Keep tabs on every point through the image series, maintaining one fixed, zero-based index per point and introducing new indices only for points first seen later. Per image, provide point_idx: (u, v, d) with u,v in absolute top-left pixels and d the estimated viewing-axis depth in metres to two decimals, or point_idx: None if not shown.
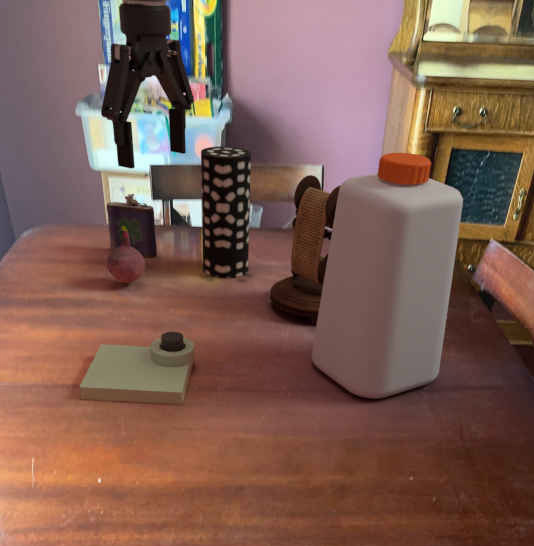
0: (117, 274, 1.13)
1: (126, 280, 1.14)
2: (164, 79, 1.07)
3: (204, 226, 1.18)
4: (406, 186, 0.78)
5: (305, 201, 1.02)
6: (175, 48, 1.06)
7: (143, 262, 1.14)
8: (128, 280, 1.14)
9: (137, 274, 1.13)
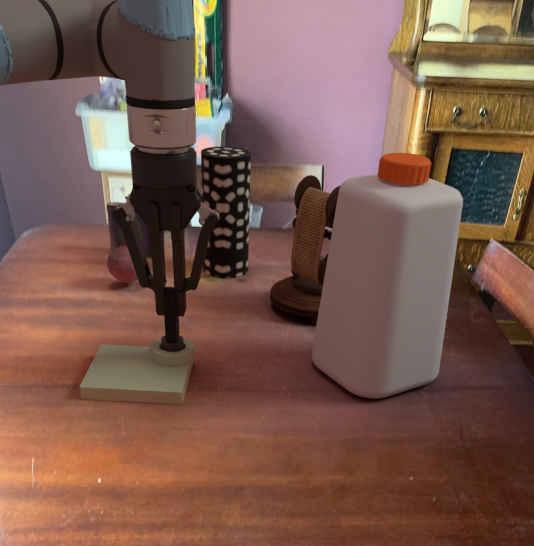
0: (117, 274, 1.13)
1: (126, 280, 1.14)
2: None
3: None
4: (406, 186, 0.78)
5: (305, 201, 1.02)
6: (206, 219, 0.80)
7: None
8: (128, 280, 1.14)
9: None
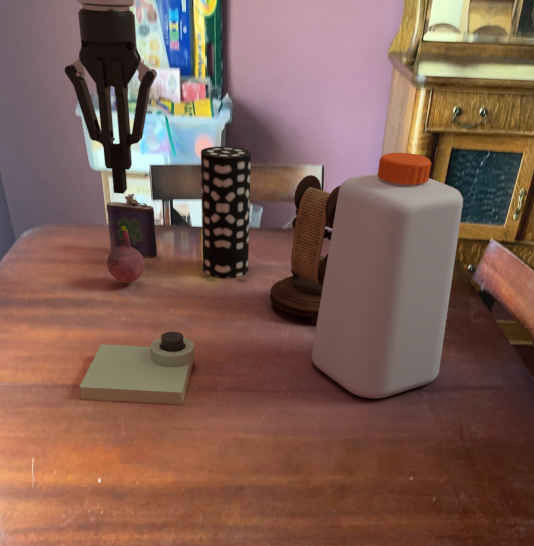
0: (117, 274, 1.13)
1: (126, 280, 1.14)
2: None
3: (204, 226, 1.18)
4: (406, 186, 0.78)
5: (305, 201, 1.02)
6: (144, 75, 0.95)
7: (143, 262, 1.14)
8: (128, 280, 1.14)
9: (137, 274, 1.13)
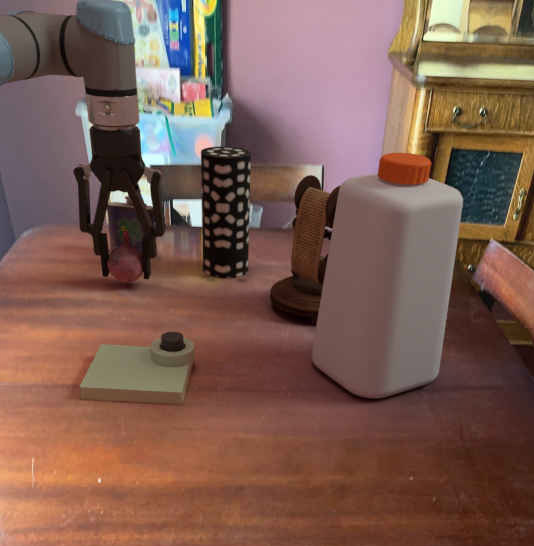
0: (118, 274, 1.13)
1: (126, 280, 1.14)
2: None
3: (204, 226, 1.18)
4: (406, 186, 0.78)
5: (305, 201, 1.02)
6: (151, 177, 1.05)
7: None
8: (128, 280, 1.14)
9: (137, 274, 1.13)
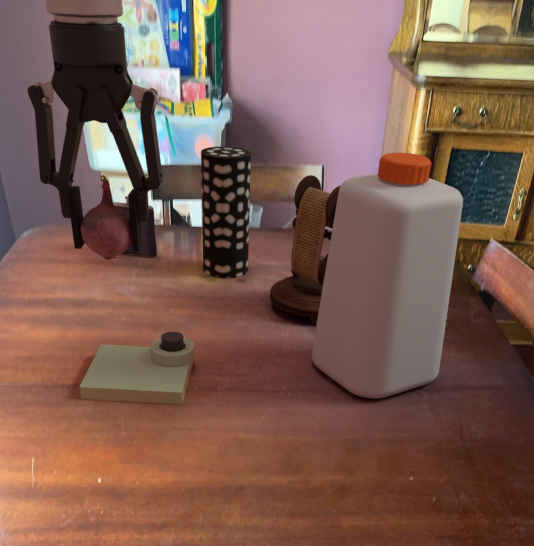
0: (95, 244, 0.80)
1: (108, 253, 0.81)
2: None
3: (204, 226, 1.18)
4: (406, 186, 0.78)
5: (305, 201, 1.02)
6: (142, 99, 0.72)
7: None
8: (110, 253, 0.81)
9: (122, 244, 0.80)
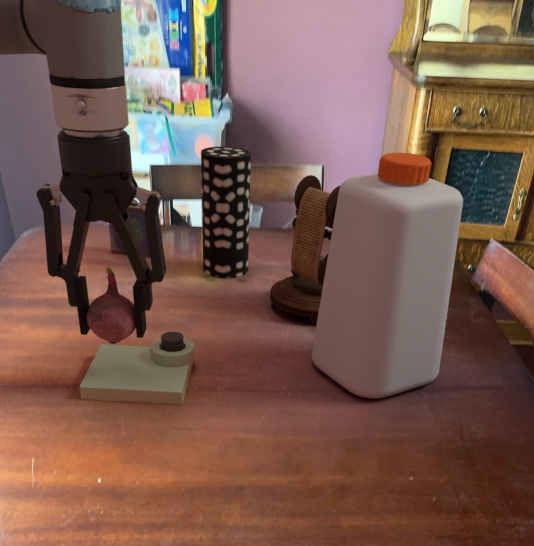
0: (101, 332, 0.82)
1: (112, 339, 0.84)
2: None
3: (204, 226, 1.18)
4: (406, 186, 0.78)
5: (305, 201, 1.02)
6: (146, 202, 0.75)
7: None
8: (115, 339, 0.84)
9: (127, 331, 0.83)
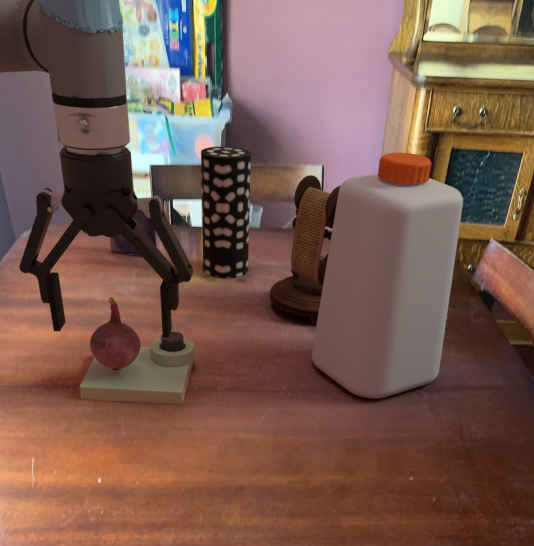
0: (104, 360, 0.85)
1: (115, 367, 0.86)
2: None
3: (204, 226, 1.18)
4: (406, 186, 0.78)
5: (305, 201, 1.02)
6: (149, 209, 0.75)
7: (138, 342, 0.86)
8: (118, 367, 0.86)
9: (130, 359, 0.85)
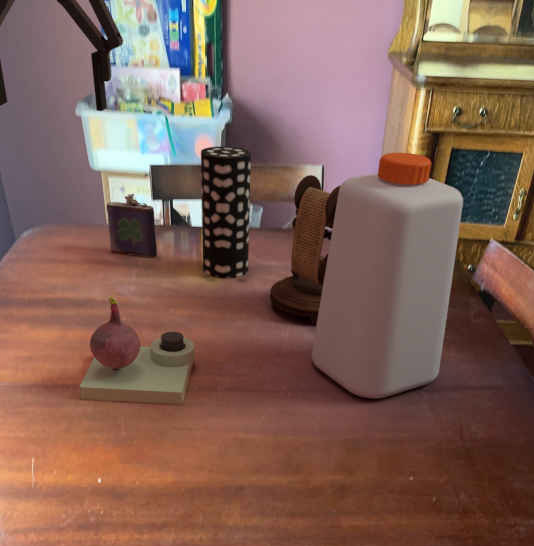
0: (104, 360, 0.85)
1: (115, 367, 0.86)
2: None
3: (204, 226, 1.18)
4: (406, 186, 0.78)
5: (305, 201, 1.02)
6: None
7: (138, 342, 0.86)
8: (118, 367, 0.86)
9: (130, 359, 0.85)
